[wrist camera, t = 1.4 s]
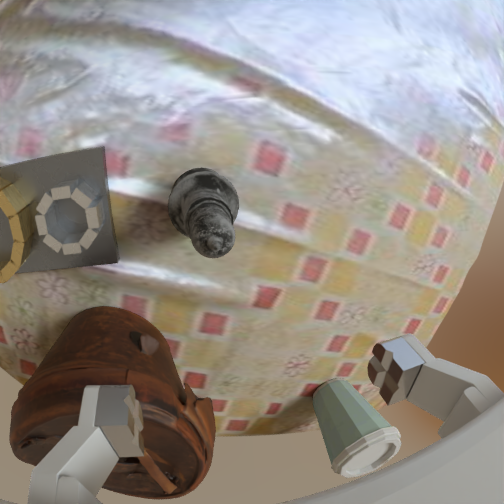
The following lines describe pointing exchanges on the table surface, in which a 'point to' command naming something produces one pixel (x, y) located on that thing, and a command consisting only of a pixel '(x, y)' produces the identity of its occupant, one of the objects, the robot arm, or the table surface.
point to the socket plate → (56, 213)
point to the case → (146, 392)
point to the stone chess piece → (205, 211)
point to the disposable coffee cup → (353, 429)
